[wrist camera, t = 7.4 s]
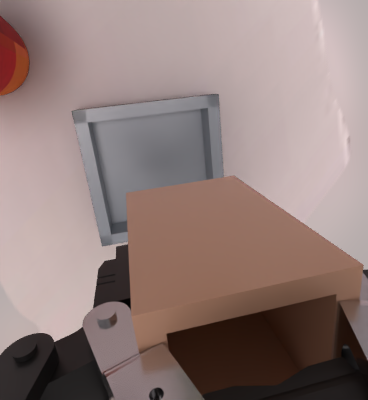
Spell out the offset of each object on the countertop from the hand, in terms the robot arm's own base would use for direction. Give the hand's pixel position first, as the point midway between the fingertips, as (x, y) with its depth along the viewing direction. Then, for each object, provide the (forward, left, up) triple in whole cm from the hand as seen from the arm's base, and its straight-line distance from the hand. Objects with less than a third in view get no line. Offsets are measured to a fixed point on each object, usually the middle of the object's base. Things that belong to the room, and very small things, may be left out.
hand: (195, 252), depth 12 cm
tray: (0, 0, -18) cm, 18 cm away
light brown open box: (0, 0, -2) cm, 2 cm away
